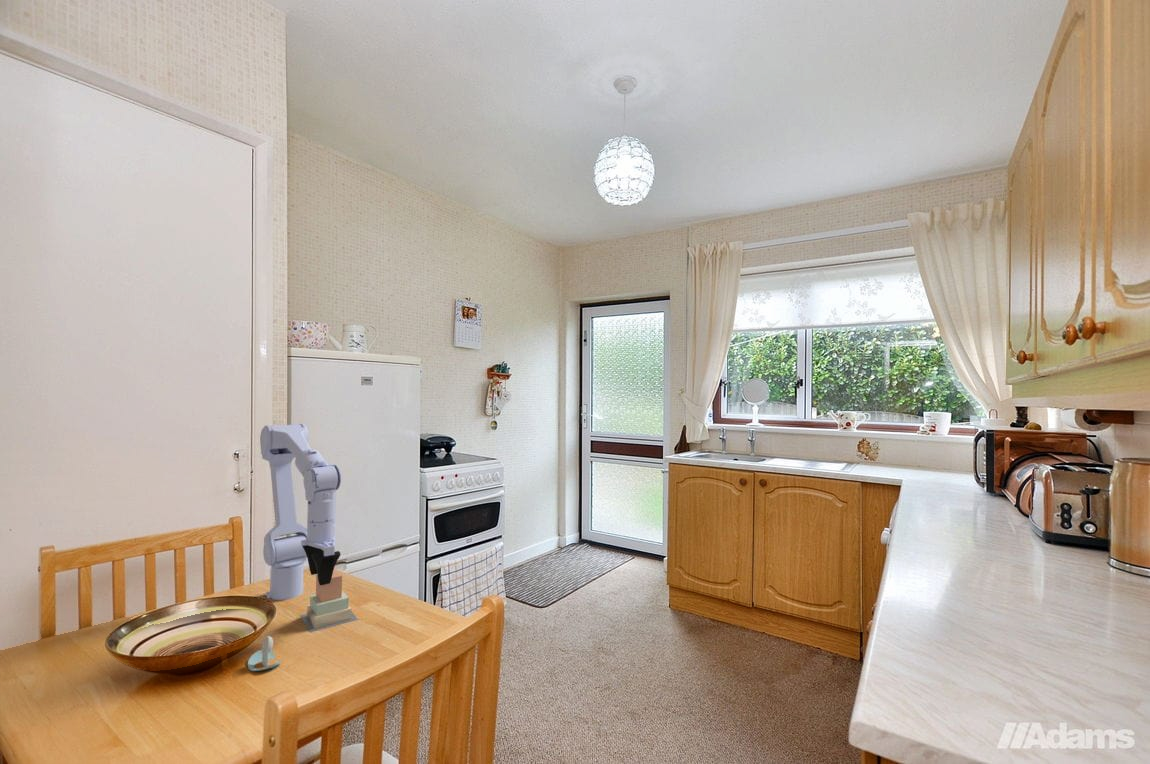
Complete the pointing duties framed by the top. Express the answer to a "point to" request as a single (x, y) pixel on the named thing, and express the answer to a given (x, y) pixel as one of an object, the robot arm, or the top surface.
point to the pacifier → (263, 656)
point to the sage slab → (328, 604)
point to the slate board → (312, 629)
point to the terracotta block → (330, 588)
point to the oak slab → (328, 617)
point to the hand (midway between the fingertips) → (320, 578)
